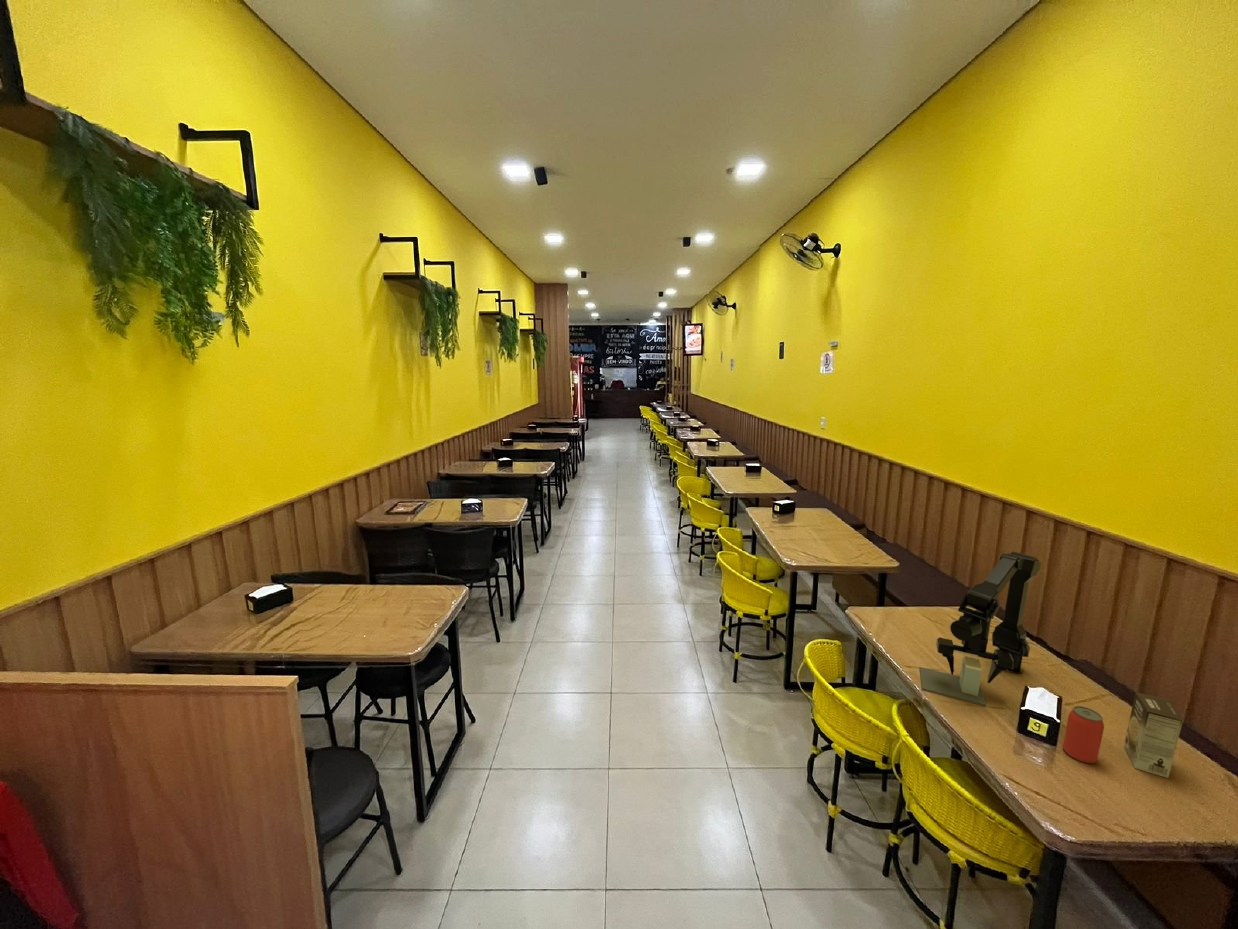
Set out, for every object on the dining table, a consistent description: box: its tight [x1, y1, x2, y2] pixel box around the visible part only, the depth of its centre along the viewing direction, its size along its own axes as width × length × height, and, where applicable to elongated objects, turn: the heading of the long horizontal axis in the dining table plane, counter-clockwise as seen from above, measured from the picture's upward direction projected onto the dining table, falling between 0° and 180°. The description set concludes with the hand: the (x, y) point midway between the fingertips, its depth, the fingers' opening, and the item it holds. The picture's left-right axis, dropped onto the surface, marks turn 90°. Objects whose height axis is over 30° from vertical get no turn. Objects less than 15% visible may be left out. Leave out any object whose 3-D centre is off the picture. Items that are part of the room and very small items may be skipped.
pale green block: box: [959, 655, 983, 696], centre depth 152 cm, size 4×6×9 cm, turn 152°
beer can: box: [1062, 705, 1105, 764], centre depth 126 cm, size 7×7×12 cm
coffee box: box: [1123, 692, 1184, 779], centre depth 123 cm, size 9×6×16 cm
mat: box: [919, 666, 987, 707], centre depth 154 cm, size 16×13×1 cm
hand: (969, 678), depth 152 cm, fingers open, 9 cm apart
